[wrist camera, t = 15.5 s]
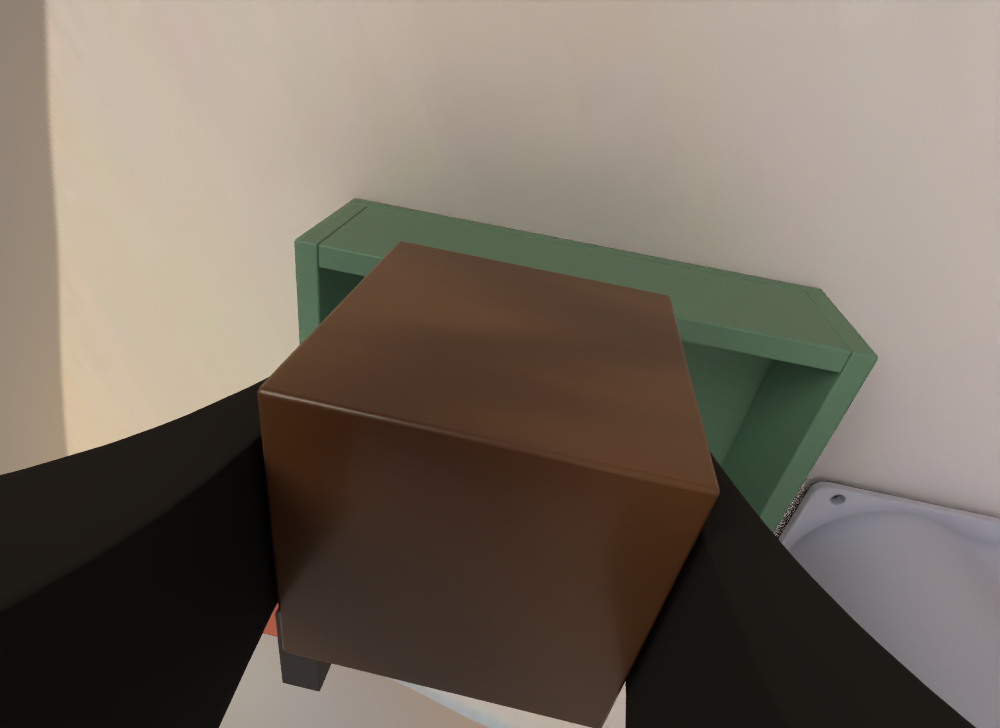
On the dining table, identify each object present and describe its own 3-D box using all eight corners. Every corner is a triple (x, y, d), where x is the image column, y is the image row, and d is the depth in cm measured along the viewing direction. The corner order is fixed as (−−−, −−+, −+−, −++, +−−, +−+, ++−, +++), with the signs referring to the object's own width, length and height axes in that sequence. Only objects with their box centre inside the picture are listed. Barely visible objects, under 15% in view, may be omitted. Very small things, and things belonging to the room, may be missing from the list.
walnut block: (671, 294, 10) (723, 493, 6) (601, 495, 13) (602, 732, 8) (398, 239, 10) (253, 389, 6) (387, 446, 13) (280, 652, 9)
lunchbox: (822, 288, 18) (880, 357, 15) (707, 518, 24) (727, 610, 20) (353, 197, 19) (293, 239, 15) (352, 441, 25) (308, 514, 21)
